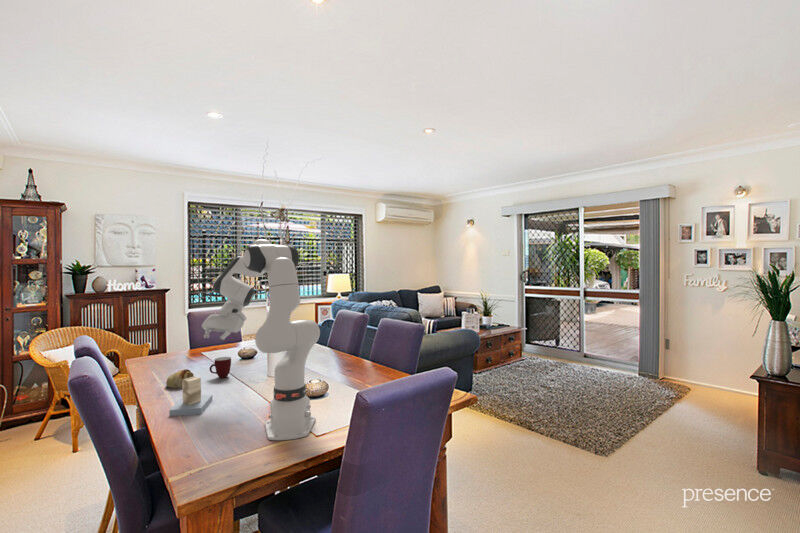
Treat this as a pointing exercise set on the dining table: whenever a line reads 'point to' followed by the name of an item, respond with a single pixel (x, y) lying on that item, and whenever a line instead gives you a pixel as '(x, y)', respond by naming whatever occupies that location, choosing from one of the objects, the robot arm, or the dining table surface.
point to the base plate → (190, 407)
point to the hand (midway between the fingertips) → (213, 338)
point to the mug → (222, 366)
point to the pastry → (178, 378)
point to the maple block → (191, 390)
